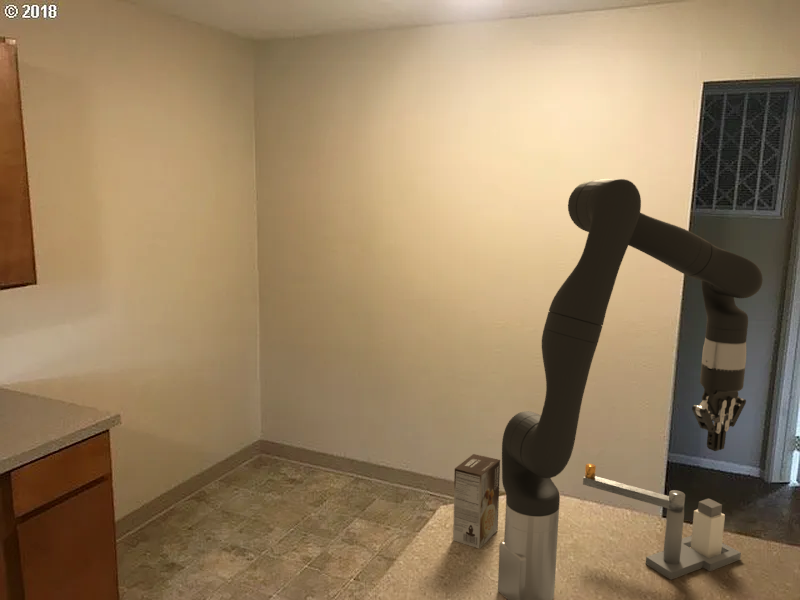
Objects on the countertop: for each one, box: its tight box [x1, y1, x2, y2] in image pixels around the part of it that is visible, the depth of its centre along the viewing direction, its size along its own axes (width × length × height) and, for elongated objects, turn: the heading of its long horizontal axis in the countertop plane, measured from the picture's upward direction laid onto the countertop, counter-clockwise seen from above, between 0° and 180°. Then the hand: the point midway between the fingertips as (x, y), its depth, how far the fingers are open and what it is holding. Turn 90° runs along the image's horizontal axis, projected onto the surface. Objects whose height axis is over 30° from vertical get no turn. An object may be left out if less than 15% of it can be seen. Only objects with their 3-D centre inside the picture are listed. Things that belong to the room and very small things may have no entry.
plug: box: [691, 498, 726, 558], centre depth 135 cm, size 4×4×11 cm
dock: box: [645, 508, 742, 580], centre depth 133 cm, size 18×9×12 cm, turn 118°
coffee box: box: [452, 453, 501, 550], centre depth 141 cm, size 9×6×16 cm
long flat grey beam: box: [582, 463, 686, 512], centre depth 134 cm, size 19×3×4 cm, turn 54°
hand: (715, 448), depth 132 cm, fingers closed
